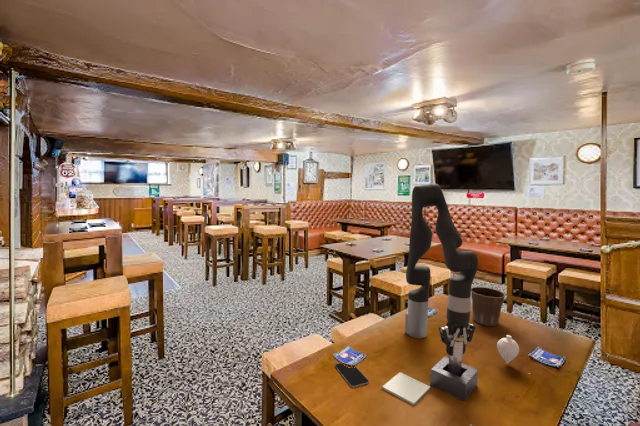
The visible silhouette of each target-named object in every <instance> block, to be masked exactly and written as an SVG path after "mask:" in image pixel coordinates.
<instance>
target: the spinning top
mask: <svg viewBox="0 0 640 426" xmlns="http://www.w3.org/2000/svg"><path fill="white" fill-rule="evenodd" d="M505 336H506V337H502V338H501V339H499V340H498V341H497V344H496V347H497V350H498V352H499V354H500V356H501V358H502V359H503V360H504V362H505V363H506V364H505V365H508V363H510V362H511V361H513V360H514V359H515V358H516V357H517V356H518V355H519V353H520V347H519V344H518V343H517V341H516V340H514V339H513V337H512V336H511V335H509V334H506V335H505Z"/></svg>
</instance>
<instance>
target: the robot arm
mask: <svg viewBox="0 0 640 426" xmlns="http://www.w3.org/2000/svg"><path fill="white" fill-rule="evenodd" d="M428 207H435V208H436V209H437V219H436V222H435V232H436V233H435V234H436V235H437V238H438V240H439V242H440V244H441V246H442V252H443V257H444V258H443V259H444V264H445V266H446V268H447V269H448V270H449V271H451V272H453V273H459V274H458V275H456V276H453V277H451V278H450V279H449V281H448V282H449V285H448V296H447V303H446V321H447V322H446V325H445V326H444V327H443V326H439V327H438V331H439V336H440V340H441V341H440V342H442V343H443V344H444V345H445V346H446V347H445V352H446V354H447V355H448V356H449V355H450V356H453V344H454V340H456V338H457V336H463V337H464V341H463V354H462V355H465V352H466V348H467V344H468V342H469V343H472V339H473V337H474V333H475V332H476V325H474V324H473V323H470V322H471V306H472V294H471V288H472V285H473V282H474V280H475V277H476V274H477V271H478V268H479V258H478V256H477V254H476V253H475V252H474V251H471V250H459V251H458V250H457V249H459V248H461V246H462V245H463V239H462V237H461V235H460V233H459V231H458V229H457V228H456V226H455V224H454V221H453V219H452V216H451V213H450V211H449V210H450V209H449V207H448V204H447V200H446V198H445V195H444V192H443V189H442V188H441V186H440V185H439V184H438V183H426V184H418V185H415V186H413V188H412V191H411V222H410V224H411V225H410V233H409V246H408V258H407V259H408V260H407V264H406V272H405V280H406V283H407V284H408V285H409V286H410V285H411V286H419V287H418V288H416V289H413V290H410V291H409V292H408V296H407V312H406V313H405V320H404V321H405V323H404V333H405V334H407V335H408V336H410V337H411V338H415V339H423V338H426V337H427V336H428V335H427V334H428V317H429V296H430V295H429V294H430V284H431V269H430V267H429V266H427V265H417V263H418V262H419V260H420V259H421V258H422V257H423V256H425V255H426V254H427V253H428V252H429V250H430V248H431V247H432V241H433V230H432V229H431V227H430V225H429V224H428V222H427V221H426V220H425V218H424V215H423V209H424V208H428ZM451 335H453V337H452V336H451ZM450 339H451V341H450Z"/></svg>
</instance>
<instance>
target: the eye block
mask: <svg viewBox="0 0 640 426" xmlns="http://www.w3.org/2000/svg"><path fill="white" fill-rule="evenodd" d="M448 360H449V356H444V357H442V358H441V359H440V360H439V361H438V362H437V363H436V364H435V365H433V367H432V368H431V369H430V378H429V379H430V380H429V386H430V387H433V388H436V389H438V390H439V391H442V392H444V393H446V394H448V395H450V396H452V397H454V398H456V399H459V400H461V401H463V402H466V401H467V400H468V398H469V396H470V395H471V394H472V392H473V391H474V390H475V389H476V387H477V386H478V378H479V377H478V376H479V375H478V374H479V369H478V368H476V367H473V366H471V365H468V364H465V363H464V362H462V368H461V376H460V377H459V376H457V375H455V374H452V373H450V372H448Z"/></svg>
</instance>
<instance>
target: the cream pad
mask: <svg viewBox="0 0 640 426" xmlns="http://www.w3.org/2000/svg"><path fill="white" fill-rule="evenodd" d="M382 390H384V391H385V392H387V393H389V394H392V395H393V396H395V397H397V398H399V399H401V400H403V401H404V402H406V403H408V404H410V405H412V406H415V405H417V403H419V401H420V400H421V399H422V398H423V397H424V396H425V395H427V393H428V392H429V391H430V390H431V385H429V384H428V385H427V384H425V383H424V382H422V381H420V380H417V379H414V378H413V377H411V376H409V375H406V374H404V373H403V372H398V373H397V374H395V376H393V377H392V378H391V379H390V380H389V381H387V382H386V383H384V384H383V385H382Z"/></svg>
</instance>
